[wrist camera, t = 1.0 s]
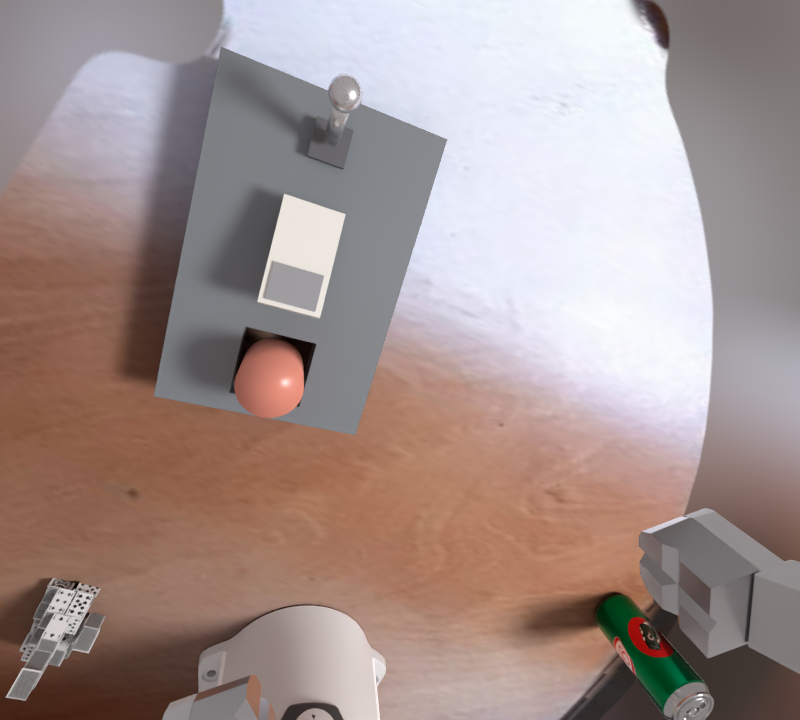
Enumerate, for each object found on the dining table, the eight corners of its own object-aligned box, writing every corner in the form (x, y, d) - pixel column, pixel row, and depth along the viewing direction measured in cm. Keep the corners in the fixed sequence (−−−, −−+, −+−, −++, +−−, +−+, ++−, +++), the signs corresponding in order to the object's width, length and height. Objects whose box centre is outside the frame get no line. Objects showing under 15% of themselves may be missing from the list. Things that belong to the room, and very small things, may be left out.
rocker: (318, 318, 30) (320, 317, 29) (257, 302, 29) (257, 301, 28) (342, 219, 30) (346, 213, 29) (283, 199, 29) (284, 192, 28)
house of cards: (122, 671, 42) (86, 764, 35) (18, 651, 39) (-44, 748, 32) (161, 597, 41) (131, 678, 34) (56, 571, 38) (-1, 653, 31)
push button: (295, 398, 35) (294, 423, 31) (236, 386, 34) (227, 410, 29) (309, 345, 34) (311, 363, 30) (249, 331, 33) (242, 347, 28)
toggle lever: (341, 159, 29) (361, 106, 23) (314, 149, 28) (327, 92, 23) (347, 134, 29) (369, 74, 23) (320, 123, 28) (335, 60, 23)
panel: (351, 419, 39) (356, 441, 35) (165, 381, 35) (148, 402, 31) (434, 145, 34) (452, 136, 30) (228, 63, 30) (217, 39, 26)
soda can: (585, 611, 52) (662, 718, 41) (618, 584, 52) (704, 683, 41) (605, 632, 54) (684, 739, 43) (637, 605, 54) (725, 706, 43)
